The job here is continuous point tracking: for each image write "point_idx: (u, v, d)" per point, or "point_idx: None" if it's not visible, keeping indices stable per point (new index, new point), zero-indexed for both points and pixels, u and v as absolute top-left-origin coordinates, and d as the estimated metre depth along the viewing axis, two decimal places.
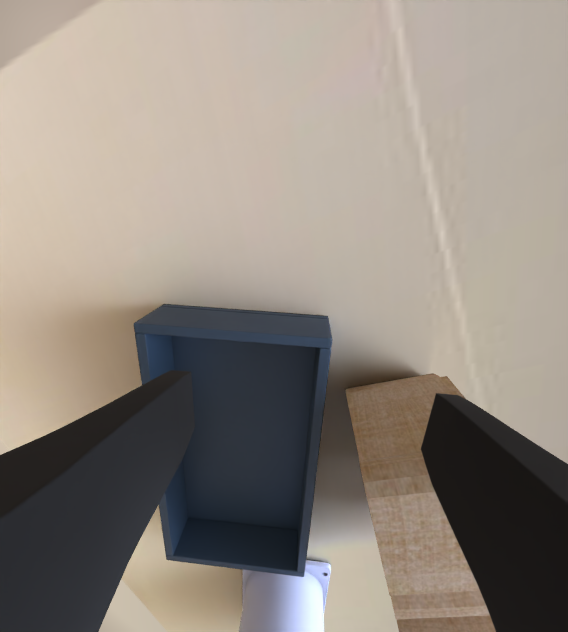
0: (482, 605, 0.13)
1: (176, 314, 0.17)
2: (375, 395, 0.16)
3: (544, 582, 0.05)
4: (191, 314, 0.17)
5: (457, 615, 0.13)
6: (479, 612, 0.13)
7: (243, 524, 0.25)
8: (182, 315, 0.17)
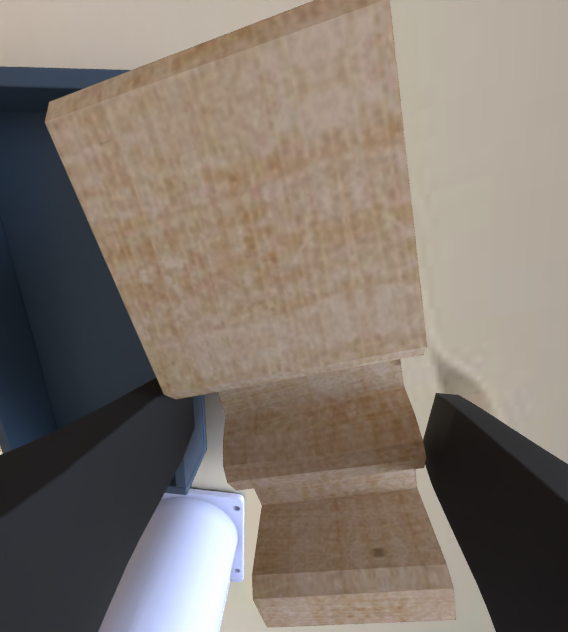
0: (359, 448, 0.08)
1: None
2: None
3: (544, 582, 0.05)
4: None
5: (321, 469, 0.08)
6: (354, 461, 0.08)
7: None
8: None
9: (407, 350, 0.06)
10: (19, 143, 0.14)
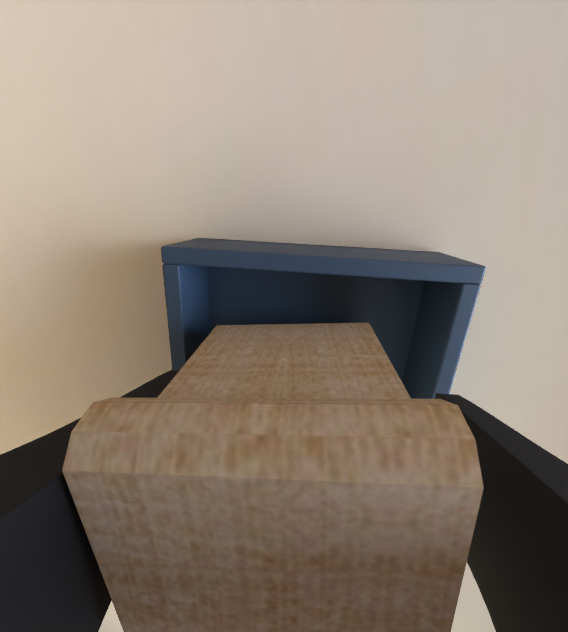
0: None
1: (222, 243, 0.11)
2: (255, 331, 0.10)
3: (544, 582, 0.05)
4: (244, 244, 0.11)
5: None
6: None
7: None
8: (231, 244, 0.11)
9: None
10: (250, 284, 0.13)
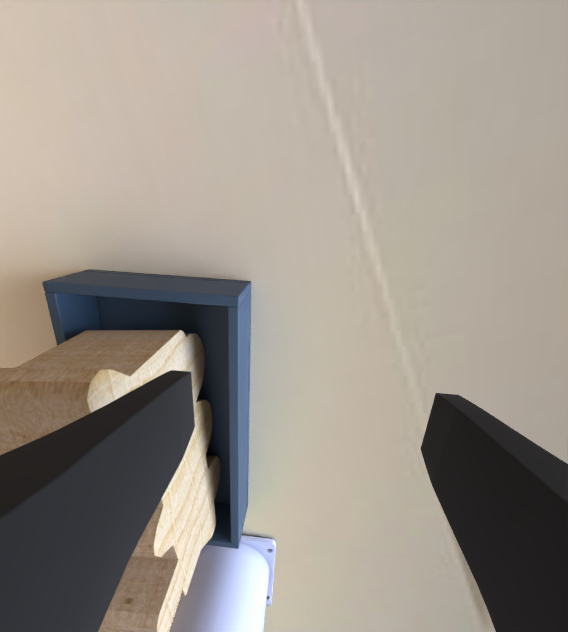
0: None
1: (93, 276, 0.17)
2: (104, 334, 0.16)
3: (544, 582, 0.05)
4: (109, 277, 0.17)
5: None
6: None
7: None
8: (99, 277, 0.17)
9: None
10: (125, 301, 0.19)
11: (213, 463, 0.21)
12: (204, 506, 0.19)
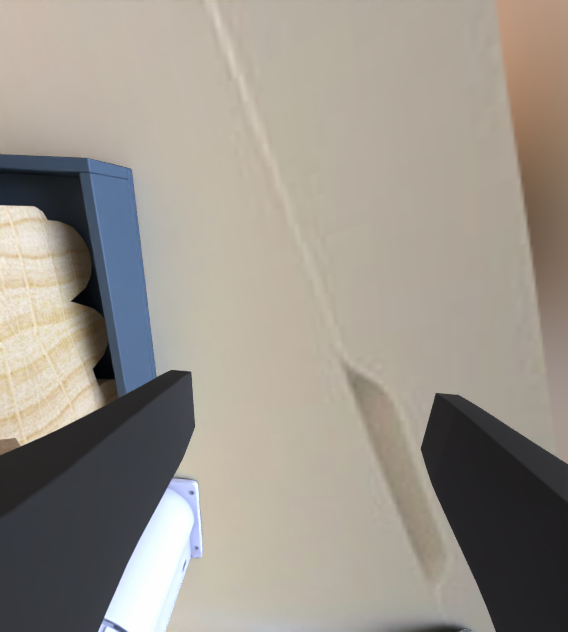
0: None
1: None
2: None
3: (544, 582, 0.05)
4: None
5: None
6: None
7: None
8: None
9: None
10: None
11: (110, 384, 0.19)
12: None
